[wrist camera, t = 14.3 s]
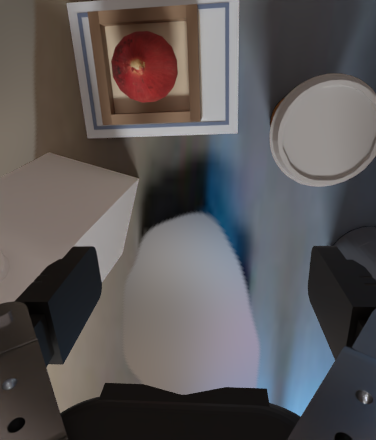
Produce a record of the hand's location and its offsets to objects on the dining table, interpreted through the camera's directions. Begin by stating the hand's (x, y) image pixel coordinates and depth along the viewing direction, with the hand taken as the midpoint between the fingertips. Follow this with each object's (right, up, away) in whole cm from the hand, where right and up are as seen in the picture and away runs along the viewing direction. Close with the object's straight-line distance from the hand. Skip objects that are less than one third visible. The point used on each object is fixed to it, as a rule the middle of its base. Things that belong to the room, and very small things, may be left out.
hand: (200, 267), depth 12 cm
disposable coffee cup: (+12, +13, +26) cm, 32 cm away
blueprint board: (-4, +19, +25) cm, 32 cm away
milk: (-14, +4, +33) cm, 36 cm away
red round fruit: (-4, +17, +21) cm, 27 cm away
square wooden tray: (-4, +18, +24) cm, 31 cm away
